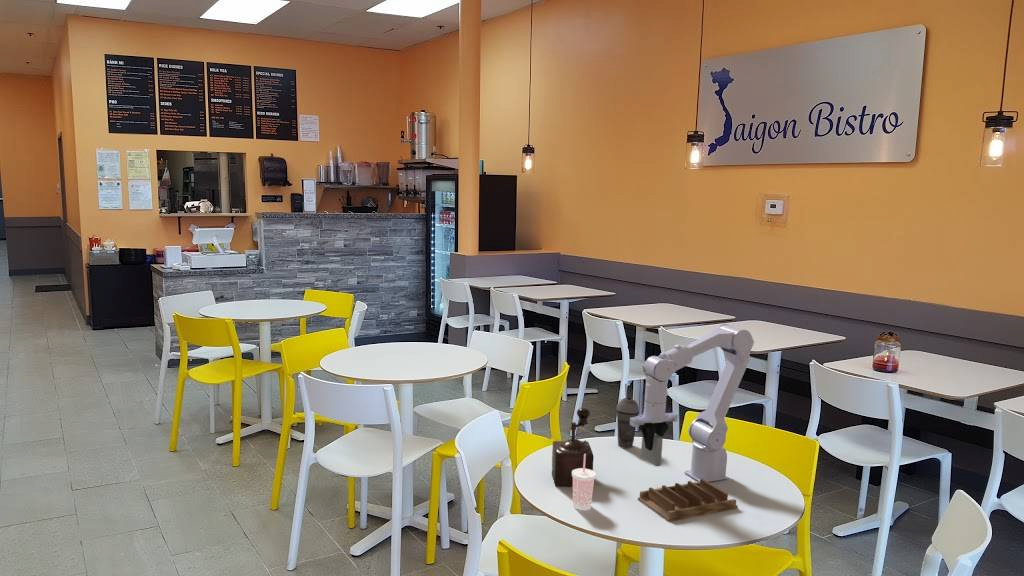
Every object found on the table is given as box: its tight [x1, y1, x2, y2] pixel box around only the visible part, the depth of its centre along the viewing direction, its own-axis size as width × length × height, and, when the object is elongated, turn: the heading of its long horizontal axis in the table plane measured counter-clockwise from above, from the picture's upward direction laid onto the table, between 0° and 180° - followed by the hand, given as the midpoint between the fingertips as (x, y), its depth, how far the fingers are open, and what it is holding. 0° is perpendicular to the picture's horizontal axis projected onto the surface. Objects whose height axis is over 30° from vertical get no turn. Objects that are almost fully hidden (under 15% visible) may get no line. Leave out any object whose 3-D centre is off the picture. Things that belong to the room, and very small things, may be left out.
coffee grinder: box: [551, 407, 594, 488], centre depth 200 cm, size 16×11×18 cm
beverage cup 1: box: [572, 454, 597, 511], centre depth 181 cm, size 6×6×14 cm
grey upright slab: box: [640, 433, 664, 467], centre depth 197 cm, size 2×7×8 cm, turn 25°
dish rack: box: [637, 479, 738, 522], centre depth 186 cm, size 22×13×4 cm, turn 115°
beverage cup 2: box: [615, 383, 640, 449], centre depth 225 cm, size 7×7×20 cm
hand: (651, 448), depth 197 cm, fingers closed on grey upright slab, 2 cm apart
